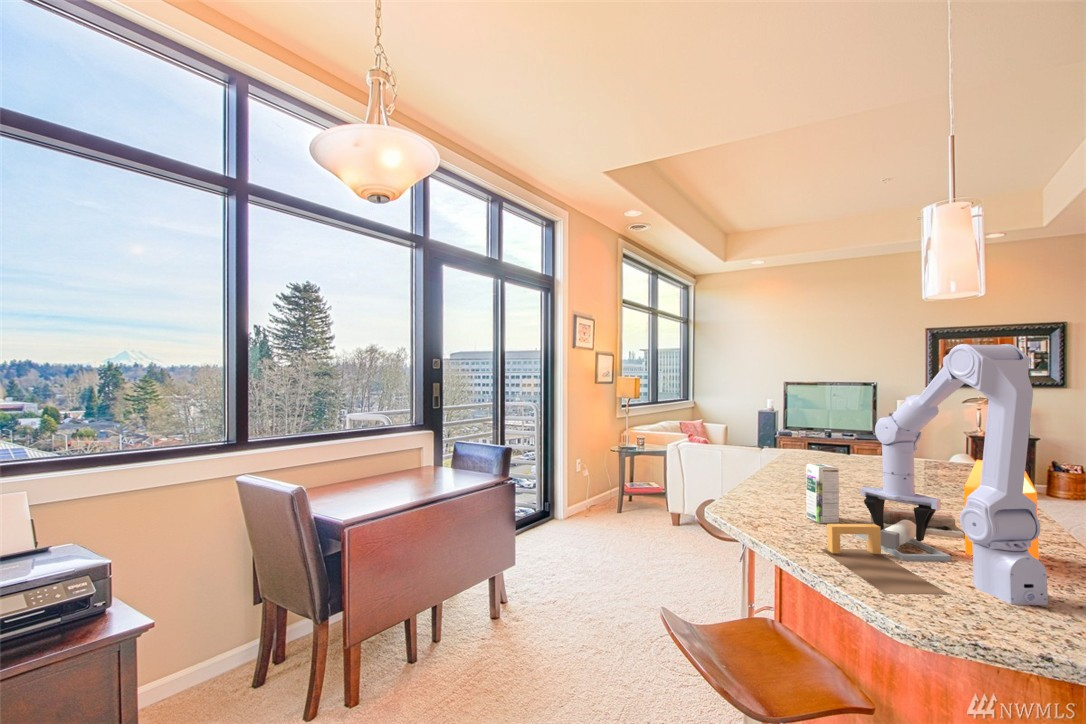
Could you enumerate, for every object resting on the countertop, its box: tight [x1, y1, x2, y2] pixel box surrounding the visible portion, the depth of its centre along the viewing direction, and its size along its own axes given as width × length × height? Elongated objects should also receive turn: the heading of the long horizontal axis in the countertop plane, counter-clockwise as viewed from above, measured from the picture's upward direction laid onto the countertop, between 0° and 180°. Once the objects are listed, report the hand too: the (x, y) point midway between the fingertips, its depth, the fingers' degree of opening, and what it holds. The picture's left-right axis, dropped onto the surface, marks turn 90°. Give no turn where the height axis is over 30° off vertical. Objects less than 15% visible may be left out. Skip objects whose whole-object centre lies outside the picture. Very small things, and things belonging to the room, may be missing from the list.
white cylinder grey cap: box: [881, 520, 916, 550], centre depth 110 cm, size 11×4×4 cm, turn 126°
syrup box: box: [805, 462, 840, 524], centre depth 134 cm, size 6×6×14 cm
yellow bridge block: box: [826, 523, 882, 555], centre depth 106 cm, size 2×10×6 cm, turn 88°
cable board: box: [819, 548, 951, 596], centre depth 98 cm, size 22×11×1 cm, turn 178°
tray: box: [854, 534, 952, 562], centre depth 110 cm, size 17×10×2 cm, turn 178°
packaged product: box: [870, 506, 965, 539], centre depth 127 cm, size 18×5×10 cm
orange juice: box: [963, 459, 1040, 561], centre depth 106 cm, size 8×9×20 cm
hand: (899, 535), depth 111 cm, fingers open, 7 cm apart
